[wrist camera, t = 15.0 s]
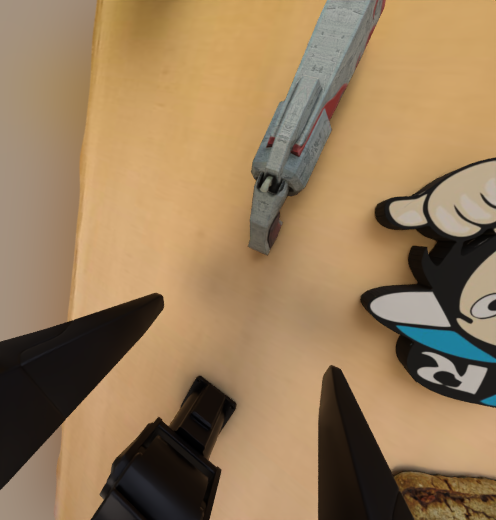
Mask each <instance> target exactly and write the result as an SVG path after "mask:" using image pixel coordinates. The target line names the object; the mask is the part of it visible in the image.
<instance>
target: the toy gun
mask: <svg viewBox="0 0 496 520" xmlns="http://www.w3.org/2000/svg"><path fill="white" fill-rule="evenodd" d="M385 1H386V0H327V2H326V4H325V6H324V8H323V10H322V13H321V15H320V17H319V19H318V21H317V24H316V26H315V29H314V31H313V34H312V36H311V39H310V41H309V43H308V46H307V48H306V51H305V53H304V56H303V58H302V60H301V63H300V65H299V68H298V70H297V73H296V75H295V77H294V80H293V82H292V85H291V87H290V90H289V92H288V94H287V97H286V99H285V101H282V102H280V103H279V105H278V107H277V109H276V112H275V114H274V116H273V118H272V120H271V123H270V125H269V127H268V129H267V131H266V134H265V136H264V138H263V140H262V143H261V145H260V147H259V149H258V151H257V154H256V156H255V158H254V160H253V163H252V170H251V173H252V175H253V177H254V179H255V180H256V183H255V186H254V192H253V201H252V209H251V216H250V241H249V245H248V247H250V248H252V249H254V250H256V251H259V252H261V253H263V254H265V255H267V256H268V253H269V251H270V249H271V247H272V245H273V244H274V242H275V240H276V238H277V236H278V233H279V231H280V228H281V225H282V223H283V222H282V221H281V220H280V219H279V217H280V209H281V207H282V206H283V204H284V202H285V200H286V198H287V196H294V195H297V194H298V193H299V192H301V191H302V190H303V189H304V188H305V186H306V184H307V182H308V180H309V178H310V176H311V173H312V171H313V169H314V167H315V165H316V163H317V160H318V158H319V156H320V154H321V152H322V150H323V148H324V145H325V143H326V141H327V139H328V137H329V135H330V133H331V130H332V128H331V125H330V122H329V121H330V119H331V117H332V115H333V113H334V111H335V109H336V107H337V105H338V103H339V101H340V99H341V97H342V95H343V93H344V91H345V89H346V87H347V85H348V83H349V81H350V79H351V77H352V75H353V73H354V71H355V69H356V67H357V65H358V63H359V61H360V59H361V57H362V54H363V52H364V50H365V48H366V46H367V44H368V41H369V39H370V37H371V35H372V33H373V31H374V29H375V26H376V24H377V22H378V20H379V18H380V16H381V14H382V11H383V9H384V7H385Z"/></svg>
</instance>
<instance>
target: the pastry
mask: <svg viewBox="0 0 496 520" xmlns="http://www.w3.org/2000/svg"><path fill="white" fill-rule="evenodd" d="M394 479H395V481H396V483H397V485H398V487H399V491H401V493H402V495H403V497H404V499H405V501H406V503H407V505H408V507H409V509H410V511H411V513H412V515H413V517H414V519H415V520H496V480H495V481H494V480H491V479H487V478H484V477H480V478H470V477H465V476H463V477H461V478H457V477H453V478H451V477H444V476H442V475H439V474H436V475H435V476H432V475H429V474H426V473H423V472H413V471H409V472H401V473H399V474H397V475H395V476H394Z"/></svg>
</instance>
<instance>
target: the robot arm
mask: <svg viewBox="0 0 496 520" xmlns="http://www.w3.org/2000/svg"><path fill="white" fill-rule="evenodd" d="M163 308H164V300H163V296H162V295H161V294H158V293H153V294H150V295H147V296H144V297H141V298H138V299H135V300H132V301H129V302H126V303H123V304H120V305H117V306H114V307H111V308H108V309H105V310H102V311H99V312H96V313H93V314H90V315H87V316H84V317H81V318H78V319H75V320H74V321H73V320H72V321H69V322H66V323H63V324H60V325H56V326H53V327H50V328H47V329H44V330H40V331H37V332H33V333H30V334H26V335H23V336H19V337H15V338H12V339H8V340H5V341H1V342H0V490H1V489H2V488H3V487H4V486H5V485H6V484H7V483H8V482H9V481H10V479H11V478H12V477H13V476H14V475H15V474H16V473H17V472H18V471H19V470H20V469H21V467H22V466H23V465H24V464H25V463H26V462H27V461H28V460H29V459H30V458H31V457H32V455H33V454H34V453H35V452H36V451H37V450H38V449H39V448H40V447H41V446H42V445H43V443H44V442H45V441H46V440H47V439H48V438H49V437H50V436H51V435H52V434H53V433H54V432H55V430H56V429H57V428H58V427H59V426H60V425H61V424H62V423H63V422H64V421H65V420H66V418H67V417H68V416H69V415H70V414H71V413H72V412H73V411H74V410H75V409H76V408H77V406H78V405H79V404H80V403H81V402H82V401H83V400H84V399H85V398H86V397H87V396H88V394H89V393H90V392H91V391H92V390H93V389H94V388H95V387H96V386H97V385H98V384H99V383H100V381H101V380H102V379H103V378H104V377H105V376H106V375H107V374H108V373H109V372H110V371H111V369H112V368H113V367H114V366H115V365H116V364H117V363H118V362H119V361H120V360H121V359H122V358H123V356H124V355H125V354H126V353H127V352H128V351H129V350H130V349H131V348H132V347H133V346H134V344H135V343H136V342H137V341H138V340H139V339H140V338H141V337H142V336H143V335H144V333H145V332H146V331H147V330H148V328H149V327H150V326H151V325H152V323H153V322H154V321H155V319H156V318H157V317H158V315H159V314H160V313H161V311H162V310H163ZM199 380H200V381H199ZM236 406H237V404H236V403H235V402H234V401H233V400H232V399H230V398H229V397H228V396H226V395H225V394H224V393H222V392H221V391H220V390H218V389H217V388H216V387H215V386H213V385H212V384H211V383H209V382H208V381H207V380H205V379H204V378H203V377H201V376H198V377H197V378H196V379H195V381H194V383H193V385H192V386H191V388H190V390H189V392H188V394H187V396H186V397H185V399H184V401H183V403H182V405H181V409H180V410H179V412H178V413H177V415H176V416H175V418H174V419H173V420H172V422H171V423H170V425H169V426H167V425H166V424H165V423H164V422H163V421H162V419H161V418H160V417H158V418H157V419H156V420H155V422H154V423H151V424H148V425H147V426H146V427H145V429H144V430H143V431H142V432H141V434H140V435H139V436H138V437H137V438H136V439H135V440H134V441H133V442H132V443H131V444H130V445H129V446H128V447H127V448H126V449H125V450H124V451H123V452H122V453H121V454H120V455H119V456H118V457H117V458H116V459H115V461H114V462H113V464H112V468H111V474H110V476H109V478H108V479H107V483H106V484H105V486H104V487H103V489H102V491H101V493H100V496H101V497H102V498H103V499H104V501H103V502H102V504H101V505H100V507H99V508H98V510H97V511H96V513H95V514H94V516H93V517H92V519H91V520H209V519H210V515H211V511H212V507H213V503H214V499H215V495H216V491H217V487H218V483H219V479H220V475H221V469H220V468H219V467H218V466H217V467H216V466H215V465H213V464H212V463H211V462H210V461H209V457H210V455H211V452H212V450H213V447H214V445H215V442H216V440H217V437H218V435H219V433H220V432H221V430H222V429H223V427H224V426H225V424H226V423H227V421H228V420H229V418H230V417H231V415H232V414H233V412H234V411H235V409H236ZM318 520H415V519H414V517H413V515H412V513H411V511H410V509H409V507H408V505H407V503H406V501H405V499H404V497H403V495H402V493H401V491H399V487H398V485H397V483H396V481H395V479H394V477H393V474H392V472H391V470H390V468H389V466H388V464H387V462H386V460H385V458H384V456H383V454H382V452H381V450H380V448H379V446H378V444H377V442H376V440H375V438H374V436H373V434H372V432H371V430H370V428H369V425H368V423H367V421H366V419H365V417H364V415H363V413H362V411H361V409H360V407H359V405H358V403H357V401H356V399H355V397H354V395H353V393H352V391H351V389H350V387H349V385H348V383H347V381H346V379H345V377H344V374H343V372H342V371H341V369H340V368H338V367H335V366H333V365H330V366H329V368H328V369H327V371H326V372H325V374H324V376H323V380H322V389H321V398H320V408H319V420H318Z"/></svg>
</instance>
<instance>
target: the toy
mask: <svg viewBox="0 0 496 520" xmlns="http://www.w3.org/2000/svg"><path fill="white" fill-rule="evenodd" d="M375 210H376V211H375V214H376V216H375V217H376V219H377V221H378V222H379V223H380V224H381V225H382V226H385V227H387V228H389V229H394V230H406V229H417V230H418V231H419V232H420V233H421V234H422V235H424V236H426V237H429V238H431V239H434V240H437V241H438V243H437V244H436V245H435V247H434V249H433V250H432V251H431V252H430V254H429V255H428V250H427V247H419V246H413V247H412V248H411V250H410V253H409V257H408V258H409V259H408V261H409V265H410V269H411V271H412V273H413V275H414V277H415V278H416V280H417V282H418V284H412V285H392V286H383V287H378V288H374V289H371V290H369V291H367V292H365V293H364V294H362V296H361V299H360V300H361V303H362V305H363V306H364V307H365V309H366V310H367V311H368V312H369V313H370V314H371V315H372V316H373V317H374V318H375V319H376V320H377V321H379V322H380V323H381V324H383V325H384V326H386V327H388V328H389V329H391V330H393V331H394V332H396V333H398V334H400V336H399V339H398V341H397V345H396V354H397V357H398V359H399V361H400V362H401V363H402V365H403V366H404V368H405V369H406V370H407V371H408V373H409V374H410V375H411V376H412V378H413V379H414V380H415V381H416V382H418V383H419V384H421V385H422V386H424V387H426V388H427V389H429V390H431V391H434V392H436V393H438V394H441V395H444V396H447V397H450V398H453V399H457V400H461V401H464V402H469V403H475V404H479V405H485V406H490V407H493V408H494V407H495V408H496V158H491V159H486V160H482V161H478V162H475V163H472V164H469V165H467V166H464V167H462V168H460V169H457V170H455V171H453V172H450V173H448V174H445V175H444V176H442V177H439V178H437V179H436V180H434V181H432V182H431V183H429V184H428V185H426V186H425V187H423V188H422V189H420V190H419V191H418V192H417V193H415V194H413V195H412V196H409V197H407V196H404V197H394V198H390V199H388V200H385V201H383V202H381V203H379V204H377V206H376V208H375Z"/></svg>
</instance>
